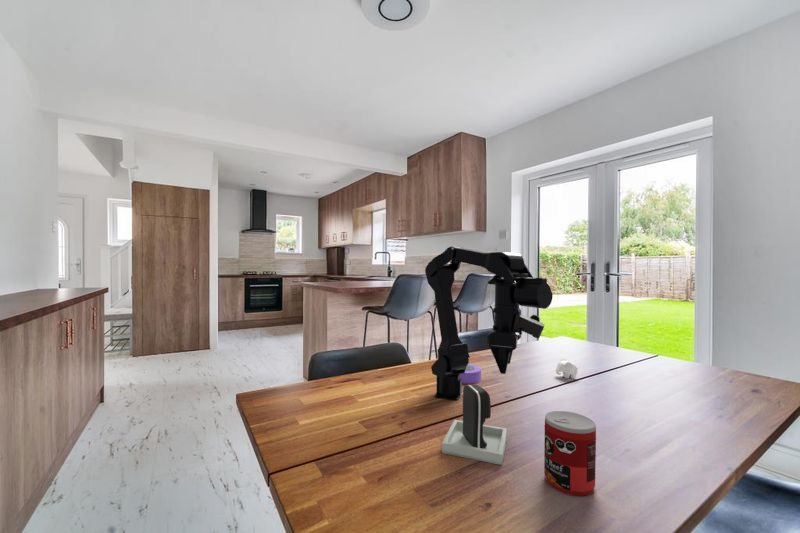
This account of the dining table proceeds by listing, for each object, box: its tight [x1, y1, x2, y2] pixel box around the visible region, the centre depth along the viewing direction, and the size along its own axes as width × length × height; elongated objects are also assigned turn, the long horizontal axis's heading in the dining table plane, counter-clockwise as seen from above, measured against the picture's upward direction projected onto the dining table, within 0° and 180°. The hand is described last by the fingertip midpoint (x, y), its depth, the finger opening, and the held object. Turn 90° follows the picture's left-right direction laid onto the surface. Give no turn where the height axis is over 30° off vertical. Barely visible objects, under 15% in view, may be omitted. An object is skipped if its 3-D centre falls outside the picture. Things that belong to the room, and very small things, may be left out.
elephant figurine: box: [555, 357, 580, 380], centre depth 121 cm, size 7×8×6 cm
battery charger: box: [462, 384, 492, 448], centre depth 74 cm, size 7×4×11 cm, turn 12°
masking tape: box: [460, 362, 482, 385], centre depth 118 cm, size 12×12×4 cm
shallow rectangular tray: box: [441, 419, 508, 466], centre depth 73 cm, size 12×12×2 cm
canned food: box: [543, 410, 597, 497], centre depth 61 cm, size 8×8×11 cm
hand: (505, 368), depth 85 cm, fingers open, 9 cm apart
